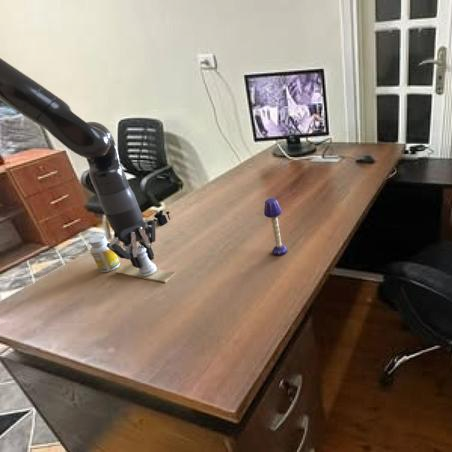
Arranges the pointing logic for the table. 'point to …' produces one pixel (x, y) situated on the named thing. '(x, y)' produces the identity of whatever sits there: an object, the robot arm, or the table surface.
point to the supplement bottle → (103, 254)
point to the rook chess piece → (145, 262)
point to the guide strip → (157, 276)
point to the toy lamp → (275, 224)
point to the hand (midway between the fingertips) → (144, 262)
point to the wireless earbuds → (161, 218)
